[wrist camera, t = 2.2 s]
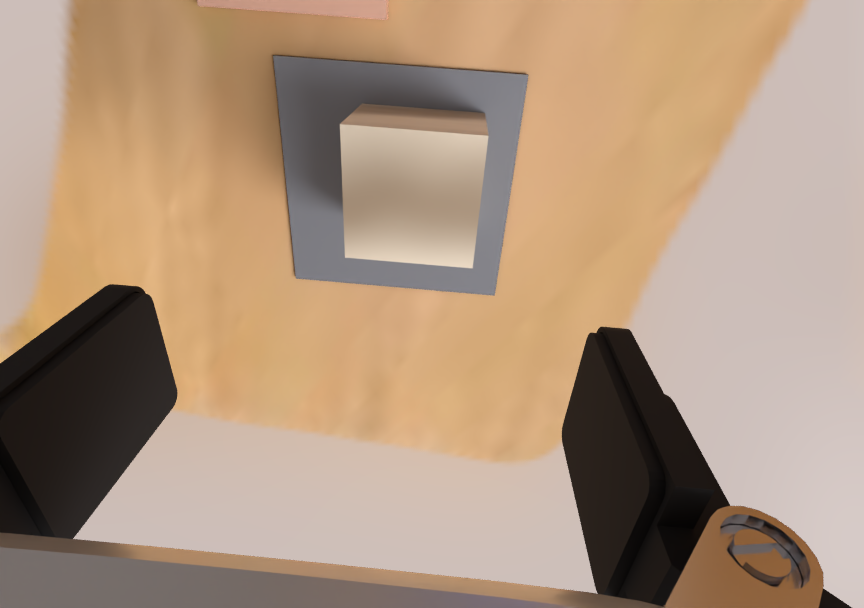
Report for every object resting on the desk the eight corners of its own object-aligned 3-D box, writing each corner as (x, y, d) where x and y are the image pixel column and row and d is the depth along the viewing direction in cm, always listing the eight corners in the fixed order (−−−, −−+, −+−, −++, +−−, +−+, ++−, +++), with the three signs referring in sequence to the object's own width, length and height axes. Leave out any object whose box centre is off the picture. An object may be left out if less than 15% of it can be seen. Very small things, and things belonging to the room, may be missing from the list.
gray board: (274, 55, 19) (272, 55, 19) (528, 74, 19) (528, 75, 19) (296, 277, 24) (295, 278, 24) (494, 294, 24) (494, 295, 24)
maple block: (362, 103, 19) (339, 123, 16) (485, 112, 19) (488, 135, 16) (363, 218, 22) (345, 257, 19) (472, 227, 22) (472, 268, 19)
